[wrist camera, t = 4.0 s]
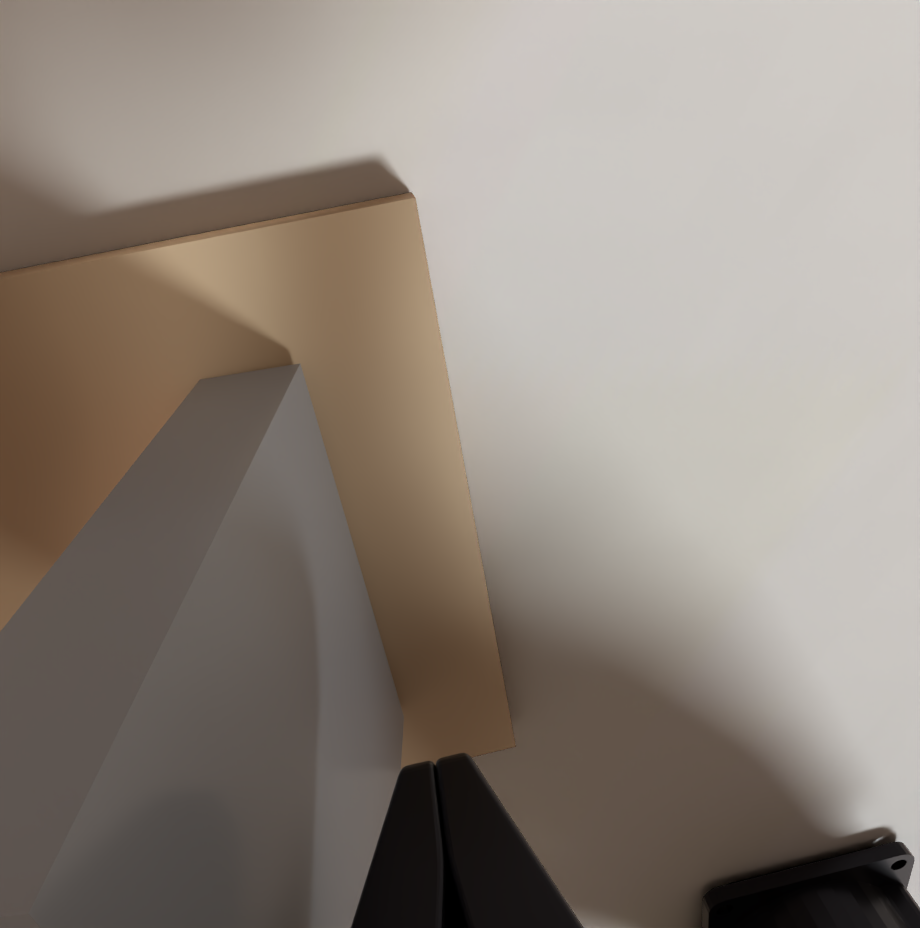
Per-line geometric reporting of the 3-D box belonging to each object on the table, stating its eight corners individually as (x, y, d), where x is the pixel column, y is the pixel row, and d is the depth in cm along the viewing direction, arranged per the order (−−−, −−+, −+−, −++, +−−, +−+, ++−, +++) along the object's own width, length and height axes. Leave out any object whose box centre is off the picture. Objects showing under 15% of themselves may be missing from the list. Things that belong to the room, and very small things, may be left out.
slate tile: (299, 363, 11) (28, 912, 4) (403, 716, 15) (366, 1306, 8) (190, 380, 11) (-272, 946, 4) (322, 727, 15) (213, 1317, 8)
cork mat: (411, 192, 11) (415, 197, 10) (510, 725, 16) (516, 746, 16) (-716, 412, 10) (-777, 430, 9) (-186, 892, 16) (-204, 919, 15)
